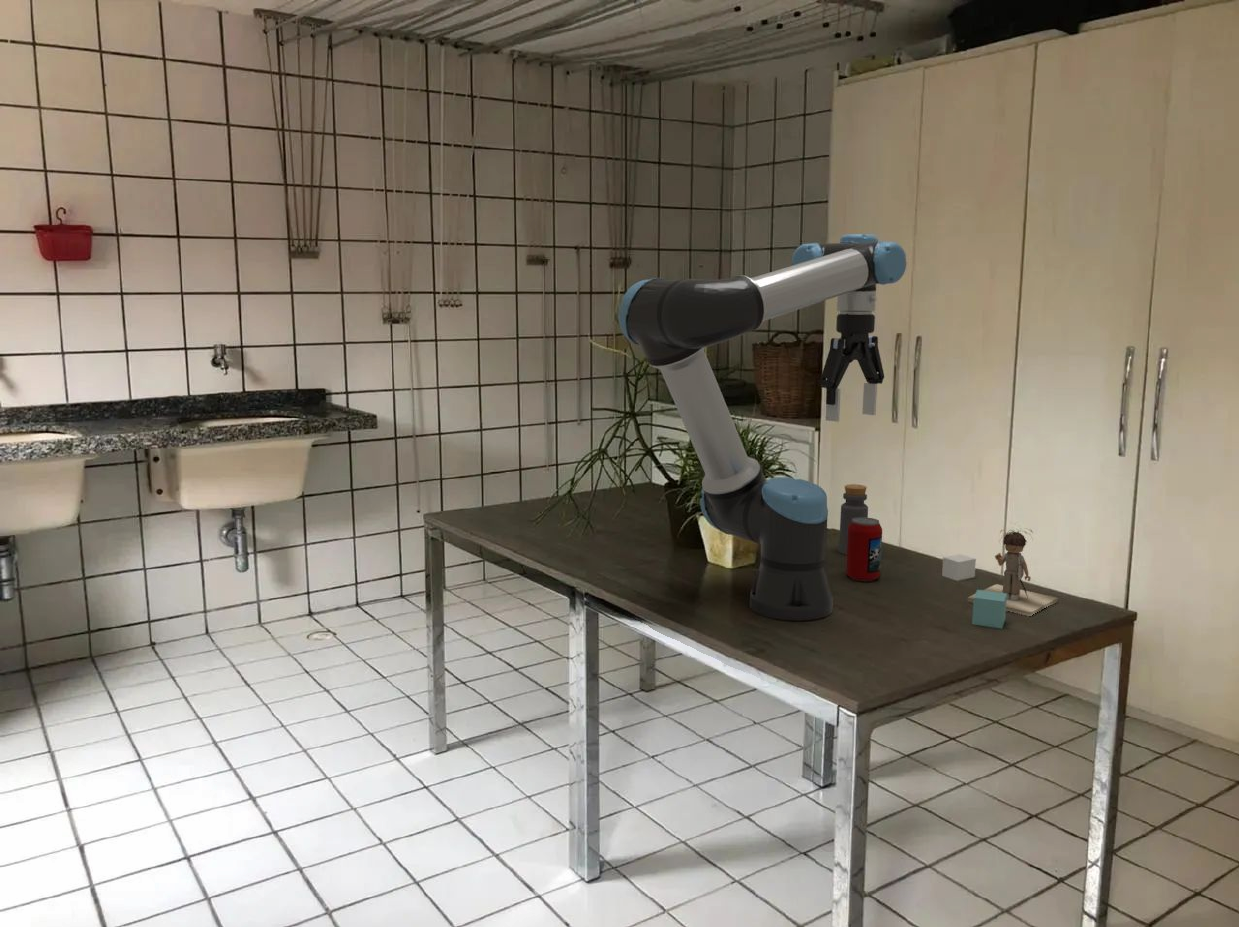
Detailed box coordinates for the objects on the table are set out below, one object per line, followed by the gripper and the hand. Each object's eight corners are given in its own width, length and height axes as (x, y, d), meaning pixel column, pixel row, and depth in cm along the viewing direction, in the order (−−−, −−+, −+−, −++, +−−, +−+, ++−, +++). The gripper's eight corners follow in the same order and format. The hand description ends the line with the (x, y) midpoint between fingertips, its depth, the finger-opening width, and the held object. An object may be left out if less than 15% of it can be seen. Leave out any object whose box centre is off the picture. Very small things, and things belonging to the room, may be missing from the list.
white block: (957, 581, 202) (958, 562, 201) (942, 576, 205) (943, 557, 204) (974, 577, 204) (975, 558, 203) (959, 572, 207) (960, 554, 207)
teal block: (1002, 629, 174) (1004, 601, 173) (971, 624, 176) (973, 597, 175) (1004, 620, 179) (1006, 593, 178) (975, 616, 181) (977, 589, 180)
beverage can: (880, 583, 199) (883, 525, 197) (846, 581, 201) (848, 523, 198) (878, 574, 206) (882, 517, 204) (845, 572, 207) (848, 515, 205)
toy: (991, 599, 187) (996, 522, 184) (996, 591, 192) (1001, 516, 189) (1026, 605, 184) (1032, 527, 181) (1031, 596, 189) (1036, 520, 186)
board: (1030, 616, 180) (1030, 612, 180) (967, 601, 189) (967, 597, 188) (1057, 602, 188) (1057, 597, 188) (996, 587, 197) (996, 584, 197)
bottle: (863, 549, 225) (867, 483, 222) (867, 556, 219) (871, 489, 216) (837, 548, 225) (840, 483, 222) (840, 555, 219) (843, 488, 217)
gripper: (837, 315, 190) (832, 425, 194) (904, 312, 207) (899, 413, 211) (804, 314, 195) (800, 421, 199) (872, 311, 212) (867, 410, 216)
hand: (851, 417), depth 205 cm, fingers open, 13 cm apart
